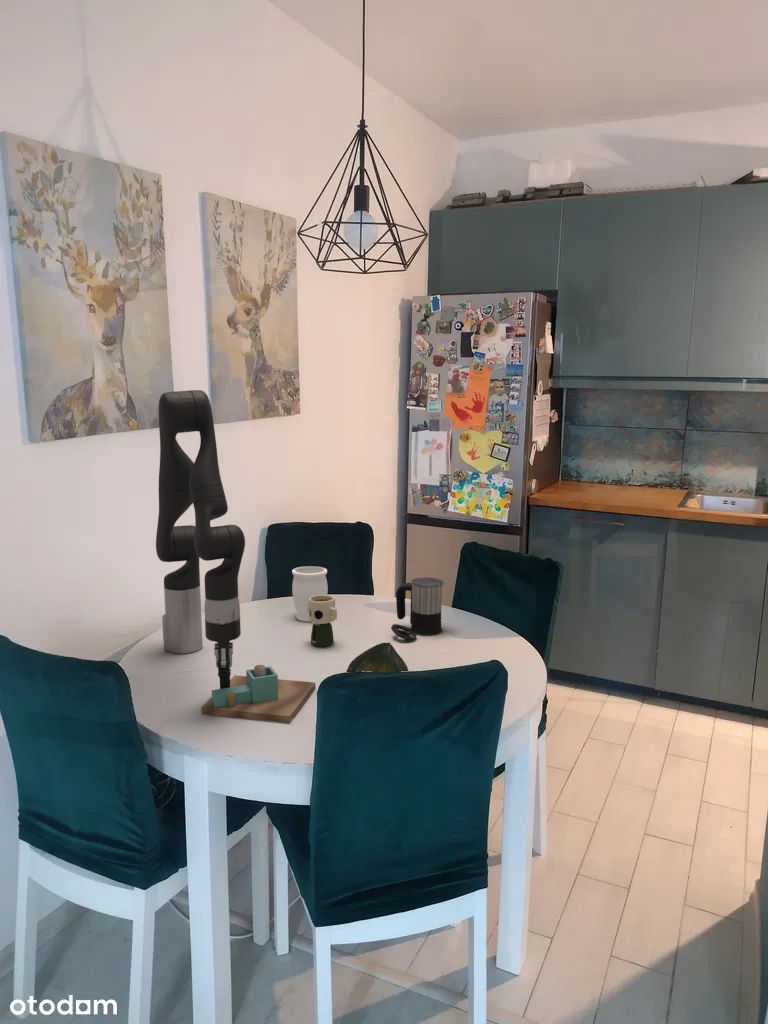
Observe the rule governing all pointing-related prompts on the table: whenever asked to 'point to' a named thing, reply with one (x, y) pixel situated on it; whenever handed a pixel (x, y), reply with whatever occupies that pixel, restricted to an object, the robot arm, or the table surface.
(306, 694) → the base
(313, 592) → the jar
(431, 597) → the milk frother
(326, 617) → the character mug
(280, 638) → the table surface
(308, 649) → the table surface
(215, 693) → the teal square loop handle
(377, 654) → the squash
